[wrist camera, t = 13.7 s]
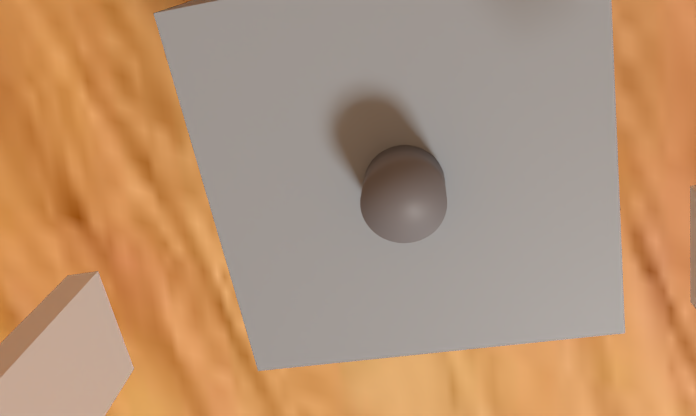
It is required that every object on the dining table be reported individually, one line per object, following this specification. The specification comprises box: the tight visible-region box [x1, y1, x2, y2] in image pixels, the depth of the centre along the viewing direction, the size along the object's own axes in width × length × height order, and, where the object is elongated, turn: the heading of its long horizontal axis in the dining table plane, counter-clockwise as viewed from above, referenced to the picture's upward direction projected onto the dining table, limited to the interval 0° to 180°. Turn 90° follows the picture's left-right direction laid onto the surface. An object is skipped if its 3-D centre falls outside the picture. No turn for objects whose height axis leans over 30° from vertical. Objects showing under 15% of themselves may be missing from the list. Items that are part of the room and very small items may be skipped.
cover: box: [154, 0, 625, 371], centre depth 26 cm, size 12×12×16 cm
